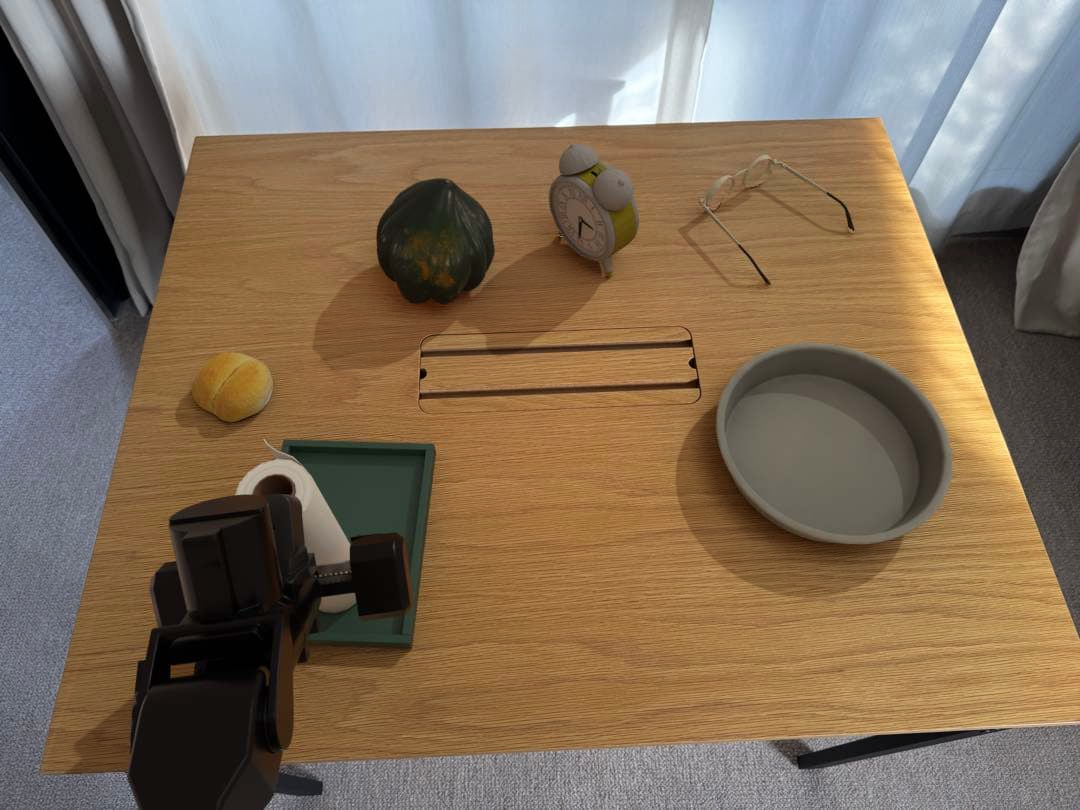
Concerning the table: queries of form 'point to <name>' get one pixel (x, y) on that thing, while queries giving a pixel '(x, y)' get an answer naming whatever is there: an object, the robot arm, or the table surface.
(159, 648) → the robot arm
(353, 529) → the tray
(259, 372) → the bread roll
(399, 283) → the squash
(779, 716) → the table surface
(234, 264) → the table surface
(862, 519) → the cake pan
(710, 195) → the wire-rimmed eyeglasses
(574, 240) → the alarm clock
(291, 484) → the paper towel roll
